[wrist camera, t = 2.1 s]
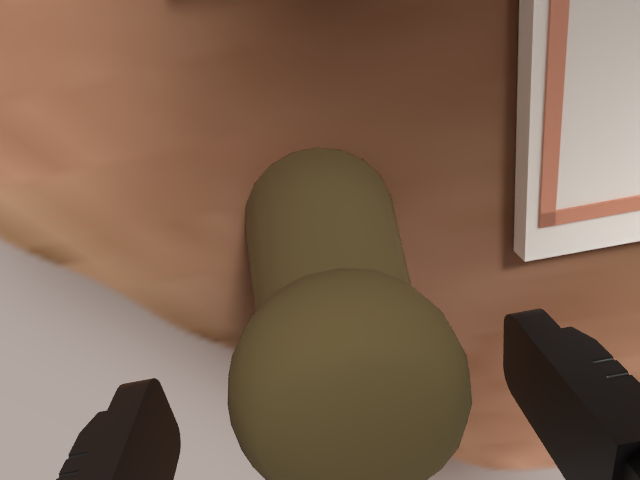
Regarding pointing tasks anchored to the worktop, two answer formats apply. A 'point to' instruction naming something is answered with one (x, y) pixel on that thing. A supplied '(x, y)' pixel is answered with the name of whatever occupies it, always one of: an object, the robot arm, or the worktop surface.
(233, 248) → the worktop surface
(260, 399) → the olive rounded piece
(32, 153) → the worktop surface
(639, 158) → the marked board
